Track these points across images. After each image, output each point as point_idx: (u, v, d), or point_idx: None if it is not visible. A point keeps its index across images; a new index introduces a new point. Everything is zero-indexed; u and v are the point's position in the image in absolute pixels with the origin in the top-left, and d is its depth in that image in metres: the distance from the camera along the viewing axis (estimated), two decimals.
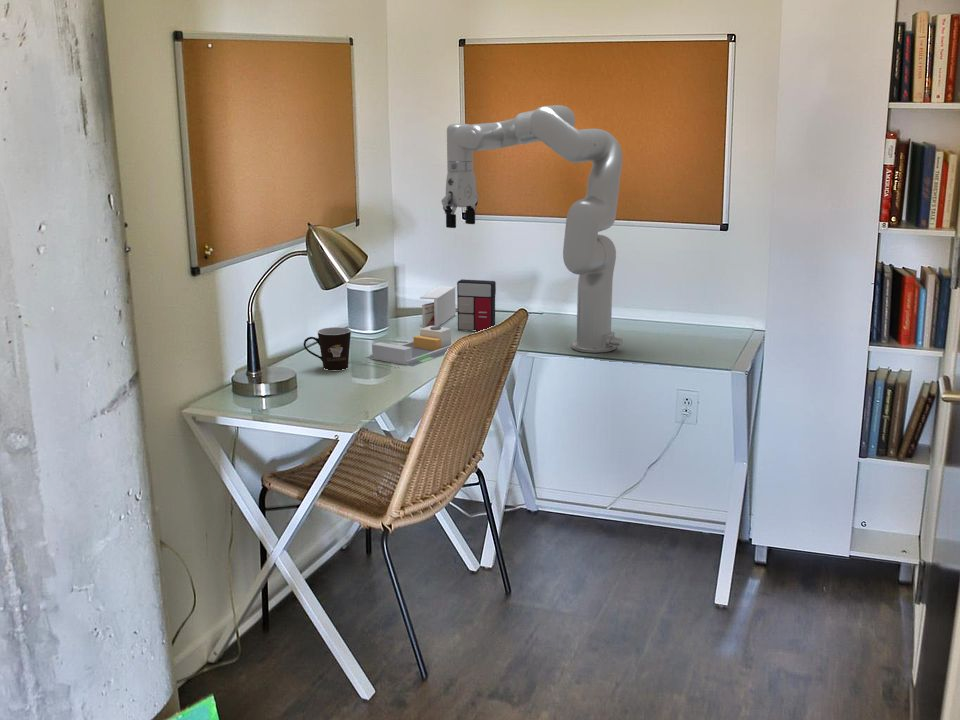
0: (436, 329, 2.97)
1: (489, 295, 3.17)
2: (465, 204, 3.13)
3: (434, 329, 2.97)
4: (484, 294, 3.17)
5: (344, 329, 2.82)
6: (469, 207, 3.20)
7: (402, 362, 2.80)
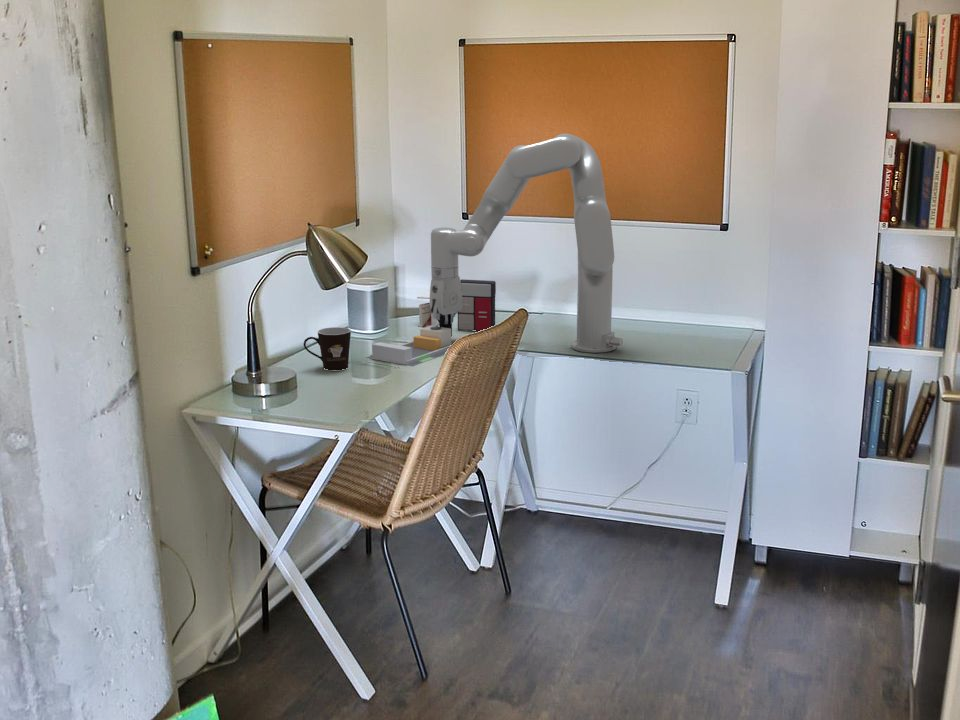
0: (436, 329, 2.97)
1: (489, 295, 3.17)
2: (450, 311, 2.98)
3: (434, 329, 2.97)
4: (484, 294, 3.17)
5: (344, 329, 2.82)
6: None
7: (402, 362, 2.80)
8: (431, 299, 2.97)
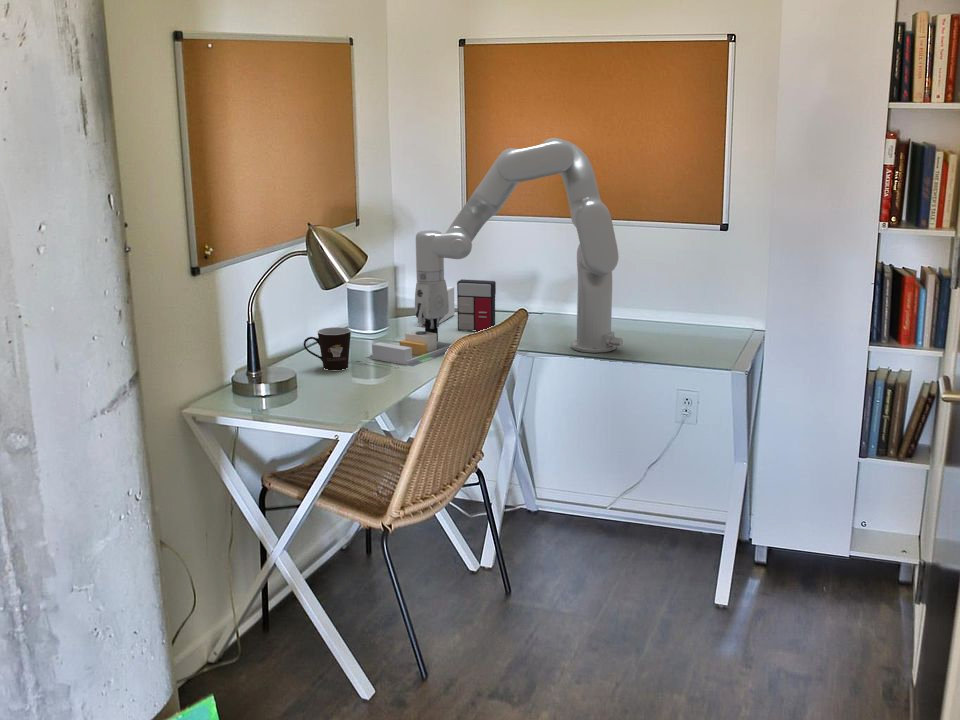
0: (421, 334, 2.91)
1: (489, 295, 3.17)
2: (435, 315, 2.93)
3: (419, 334, 2.91)
4: (484, 294, 3.17)
5: (344, 329, 2.82)
6: None
7: (402, 362, 2.80)
8: (416, 303, 2.91)
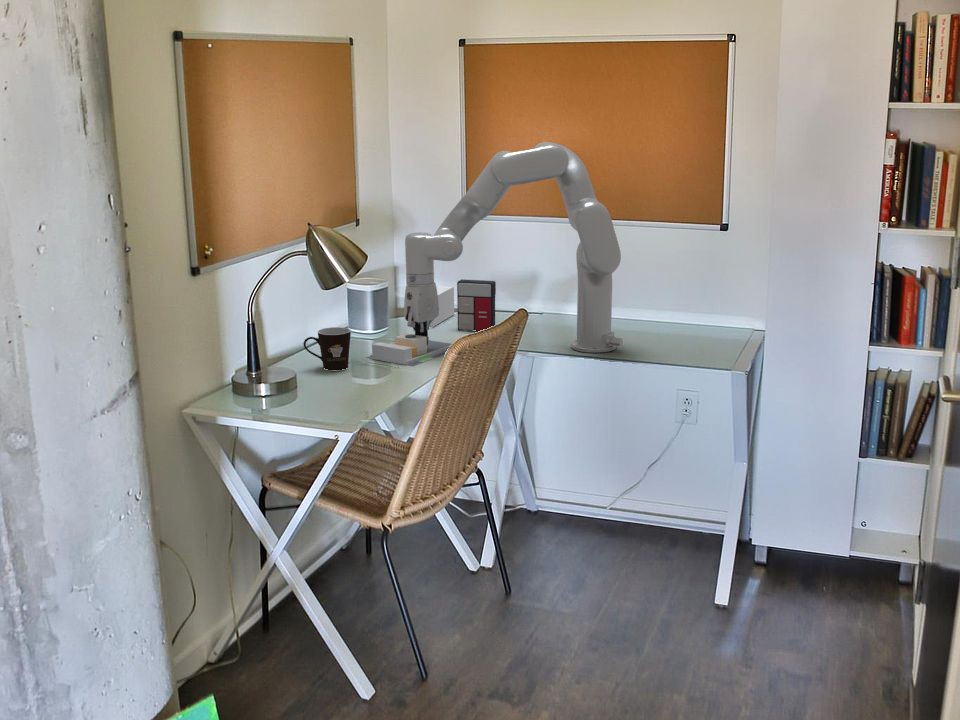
0: (411, 337, 2.88)
1: (489, 295, 3.17)
2: (425, 319, 2.89)
3: (409, 337, 2.88)
4: (484, 294, 3.17)
5: (344, 329, 2.82)
6: (422, 325, 2.94)
7: (402, 362, 2.80)
8: (406, 306, 2.88)
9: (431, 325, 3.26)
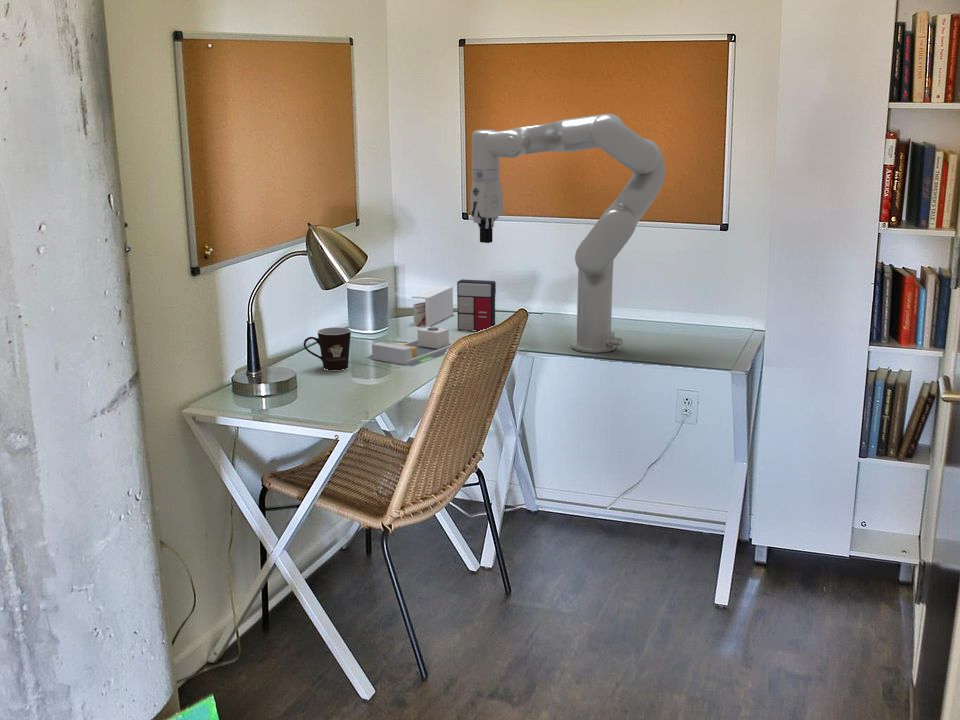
0: (433, 330, 2.96)
1: (489, 295, 3.17)
2: (491, 215, 2.94)
3: (431, 330, 2.96)
4: (484, 294, 3.17)
5: (344, 329, 2.82)
6: None
7: (402, 362, 2.80)
8: (472, 202, 2.93)
9: (427, 325, 3.27)
